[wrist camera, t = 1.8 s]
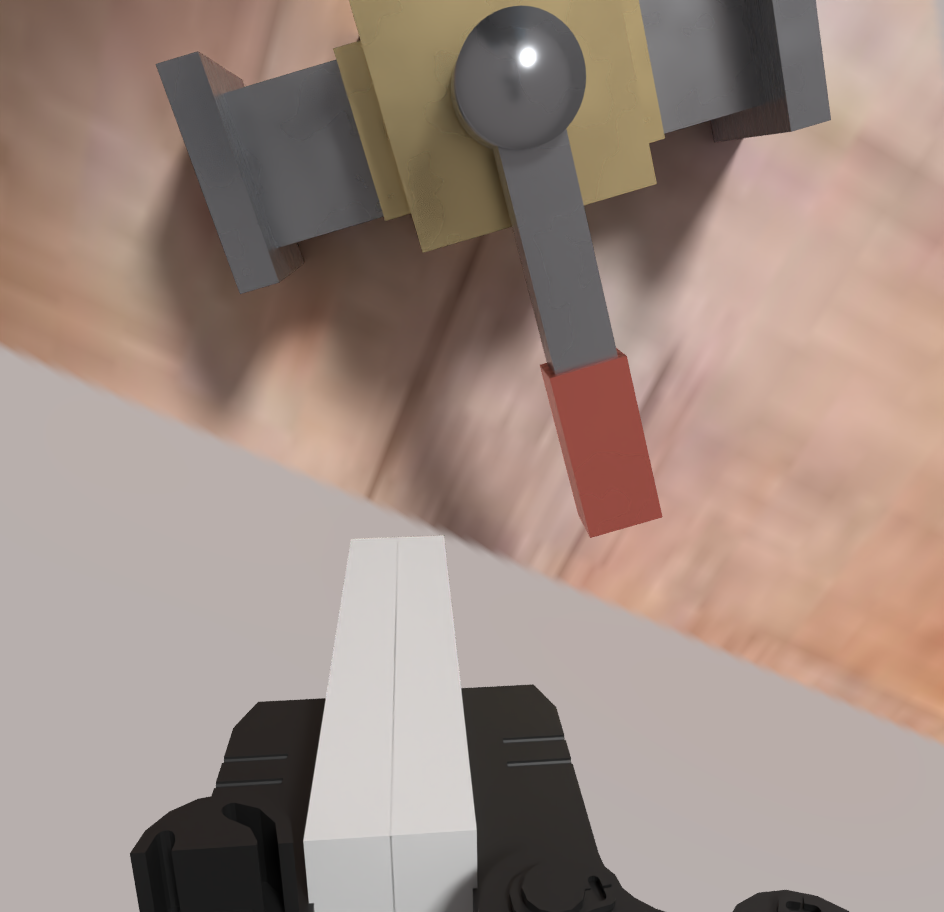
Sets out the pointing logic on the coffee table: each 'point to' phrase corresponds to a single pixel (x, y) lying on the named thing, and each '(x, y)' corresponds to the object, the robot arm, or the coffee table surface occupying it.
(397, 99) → the valve body
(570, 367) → the lever
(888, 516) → the coffee table surface
